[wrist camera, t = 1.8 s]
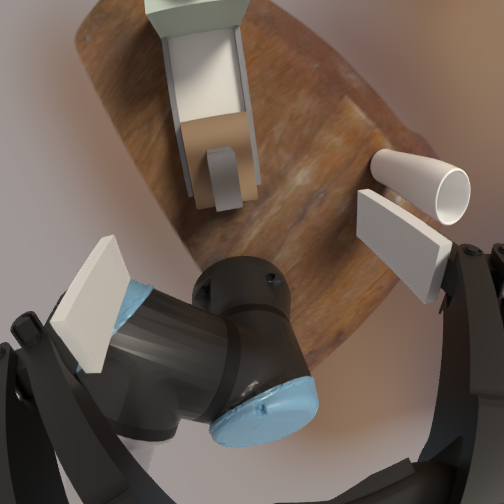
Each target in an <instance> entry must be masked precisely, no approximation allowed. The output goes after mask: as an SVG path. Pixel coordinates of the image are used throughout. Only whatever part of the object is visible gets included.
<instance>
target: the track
mask: <svg viewBox="0 0 504 504" xmlns="http://www.w3.org/2000/svg"><path fill="white" fill-rule="evenodd" d="M161 40H162V48H163V55H164V63H165V70H166V77H167V84H168V90H169V96H170V103H171V109H172V115H173V120H174V126H175V132H176V137H177V143H178V148H179V153H180V158H181V163H182V168H183V173H184V178H185V183H186V188H187V192H188V197H193V196H194V193H193V188H192V184H191V179H190V174H189V169H188V163H187V158H186V153H185V148H184V142H183V137H182V131H181V126H180V123H181V122H185V121H190V120H195V119H200V118H206V117H211V116H217V115H223V114H230V113H237V112H244V111H247V118H248V125H249V132H250V140H251V147H252V154H253V162H254V170H255V177H256V185H259V184H261V178H260V170H259V162H258V155H257V147H256V139H255V132H254V124H253V117H252V109H251V102H250V95H249V88H248V81H247V74H246V67H245V60H244V53H243V47H242V40H241V34H240V27H239V25H237V26H234V27H233V28H230V29H221V30H214V31H207V32H200V33H194V34H189V35H183V36H178V37H174V38H169V39H167V37H163V38H161Z"/></svg>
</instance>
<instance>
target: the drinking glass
mask: <svg viewBox="0 0 504 504" xmlns="http://www.w3.org/2000/svg"><path fill="white" fill-rule="evenodd" d="M370 169H371V173H372V176H373V177H374V179H375V180H376V181H378V182H379V183H381V184H383V185H385V186H386V187H388V188H389V189H391V190H392V191H394V192H395V193H397V194H398V195H399V196H401V197H402V198H403V199H405V200H406V201H408V202H409V203H410V204H412V205H413V206H414V207H416V208H417V209H418V210H420V211H421V212H423V213H424V214H426V215H427V216H429V217H431V218H433V219H434V220H436V221H438V222H440V223H441V224H444V225H451V224H454V223H455V222H457V221H458V220H459V219H460V218H461V217H462V215H463V214H464V212H465V210H466V208H467V205H468V202H469V199H470V182H469V178H468V176H467V174H466V173H465V172H464V171H463V170H462V169H459V168H457V167H455V166H453V165H451V164H448V163H445V162H443V161H440V160H437V159H433V158H428V157H424V156H419V155H413V154H408V153H403V152H398V151H393V150H390V149H381V150H379V151H378V152H376V153H375V154H374V156H373V158H372V160H371V164H370Z"/></svg>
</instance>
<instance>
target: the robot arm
mask: <svg viewBox="0 0 504 504" xmlns="http://www.w3.org/2000/svg"><path fill="white" fill-rule="evenodd" d="M356 236H357V237H358V238H360V239H361V240H362V241H363V242H364V243H365V244H366V245H367V246H368V247H369V248H370V249H371V250H372V251H373V252H374V253H375V254H376V255H377V256H378V257H379V258H380V259H381V260H382V261H383V262H384V263H385V264H386V265H387V266H388V267H389V268H390V269H391V270H392V271H393V272H394V273H395V274H396V275H397V276H398V277H399V278H400V279H401V280H402V281H403V282H404V283H405V284H406V285H407V286H408V287H409V288H410V289H411V290H412V291H413V292H414V294H415V295H416V296H417V297H418V298H419V299H420V300H421V301H422V302H423V303H424V304H427V303H430V302H432V301H435V300H437V298H438V295H439V292H440V288H442V289H443V290H444V291H445V292H446V293H445V296H444V299H443V302H442V305H441V308H440V310H439V314H441V312H442V310H443V313H444V314H443V345H442V360H441V371H440V379H439V387H438V394H437V401H436V406H435V412H434V418H433V422H432V427H431V431H430V435H429V438H428V441H427V443H426V444H425V446H424V448H423V450H422V452H421V454H420V456H419V459H418V461H417V462H413V463H411V462H410V460H409V458H406V459H404V460H402V461H400V462H398V463H396V464H394V465H392V466H390V467H388V468H386V469H383V470H381V471H379V472H377V473H374V474H372V475H370V476H369V477H367V478H366V479H364V480H363V481H361V482H360V483H359V484H357V485H355V486H354V487H352V488H350V489H349V490H347V491H346V492H344V493H342V494H341V495H339V496H337V497H335V498H334V499H331V500H329V501H321V502H304V503H303V502H302V503H275V504H504V296H503V295H502V292H503V290H504V244H500V243H496V244H494V245H493V248H492V251H491V254H484V253H483V251H482V250H480V249H479V248H478V247H476V246H473V245H470V244H461V245H460V246H458V245H457V244H455V243H454V242H452V241H451V240H450V239H449V238H447V237H446V236H444V235H443V234H442V235H441V233H440V232H439V231H436V229H434V228H433V227H431V226H430V225H428V224H426V223H424V222H422V221H421V220H419V219H418V218H416V217H415V216H413V215H412V214H410V213H408V212H407V211H405V210H404V209H402V208H400V207H399V206H397V205H396V204H394V203H392V202H391V201H389V200H387V199H386V198H384V197H382V196H381V195H379V194H377V193H375V192H374V191H372V190H370V189H365V190H358V199H357V231H356ZM290 305H291V295H290V290H289V287H288V284H287V282H286V280H285V278H284V276H283V274H282V273H281V272H280V270H279V269H278V268H277V267H275V266H274V265H273V264H271V263H270V262H268V261H266V260H263V259H260V258H256V257H250V256H238V257H232V258H228V259H224V260H222V261H219V262H217V263H215V264H214V265H212V266H210V267H209V268H208V269H207V270H205V271H204V272H203V273H202V274H201V276H200V277H199V278H198V280H197V282H196V284H195V286H194V289H193V294H192V305H191V304H188V303H186V302H183V301H181V300H179V299H176V298H174V297H172V296H169V295H167V294H165V293H163V292H160V291H158V290H156V289H154V287H153V286H152V285H150V284H149V285H144V284H142V283H139V282H137V281H135V280H132V279H131V278H130V276H129V273H128V271H127V268H126V266H125V263H124V261H123V258H122V255H121V253H120V250H119V247H118V244H117V242H116V239H115V236H114V235H111V236H107V237H103V238H101V240H100V241H99V243H98V244H97V245H96V247H95V248H94V250H93V251H92V253H91V254H90V256H89V257H88V259H87V260H86V262H85V263H84V265H83V266H82V268H81V269H80V271H79V272H78V274H77V276H76V277H75V279H74V280H73V282H72V284H71V285H70V287H69V288H68V289H67V290H66V291H65V292H64V294H62V295H61V297H60V299H59V300H58V302H57V305H56V306H55V307H54V309H53V311H52V313H51V314H50V316H49V318H48V320H47V322H46V324H45V325H44V326H43V325H42V323H41V322H40V320H39V318H38V317H37V315H36V314H35V313H34V312H33V311H29V312H26V313H24V314H22V315H21V316H19V317H18V318H17V319H16V320H15V321H14V323H13V324H12V326H11V333H12V334H13V336H14V337H15V339H16V340H17V341H18V343H19V344H20V346H21V347H22V348H20V349H18V350H15V351H14V350H13V349H12V347H11V346H10V345H9V343H7V342H4V343H1V344H0V504H176V503H175V502H174V501H173V500H172V499H171V498H170V497H169V496H168V495H167V494H166V493H165V492H164V491H163V490H162V489H161V488H160V487H159V486H158V485H157V484H156V483H155V481H154V480H153V479H152V478H151V477H150V476H149V475H148V474H147V471H148V468H149V464H150V461H151V458H152V454H153V451H154V448H155V446H157V445H160V444H164V443H167V442H169V441H171V440H172V439H173V438H174V436H175V433H176V430H177V427H178V424H179V421H180V420H181V419H187V420H192V421H196V422H201V423H206V424H209V425H210V427H209V433H210V434H211V435H212V438H213V440H214V441H215V442H217V443H218V444H220V445H222V446H226V447H250V446H257V445H261V444H266V443H269V442H273V441H276V440H278V439H281V438H284V437H286V436H288V435H290V434H292V433H294V432H296V431H298V430H299V429H301V428H302V427H304V426H305V425H306V424H307V423H309V422H310V421H311V420H312V418H313V417H314V416H315V414H316V413H317V410H318V405H319V399H318V396H317V392H316V388H315V385H314V383H315V380H314V378H313V377H312V376H311V373H310V371H309V369H308V366H307V364H306V361H305V359H304V356H303V354H302V351H301V349H300V346H299V344H298V341H297V339H296V336H295V334H294V331H293V329H292V326H291V324H290ZM16 393H17V394H18V395H19V396H20V400H19V399H18V397H17V395H16ZM54 450H55V451H54ZM55 452H56V454H57V457H58V458H59V461H60V463H61V465H62V467H63V469H64V471H65V473H66V475H67V478H66V488H65V489H64V486H63V483H62V479H61V476H60V472H59V468H58V464H57V460H56V456H55Z"/></svg>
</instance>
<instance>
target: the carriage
mask: <svg viewBox="0 0 504 504" xmlns="http://www.w3.org/2000/svg"><path fill="white" fill-rule="evenodd" d="M180 126H181V131H182V137H183V142H184V148H185V153H186V158H187V163H188V169H189V174H190V179H191V184H192V188H193V193H194V198H195V203H196V207H197V210H200V209H205V208H210V207H215V206H216V210H217V212H219V211H224V210H230V209H235V208H241V207H243V203H242V202H243V201H248V200H254V199H258V193H257V185H256V177H255V170H254V162H253V154H252V147H251V140H250V132H249V125H248V118H247V111H244V112H237V113H230V114H223V115H217V116H211V117H206V118H200V119H195V120H190V121H185V122H181V123H180Z"/></svg>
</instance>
